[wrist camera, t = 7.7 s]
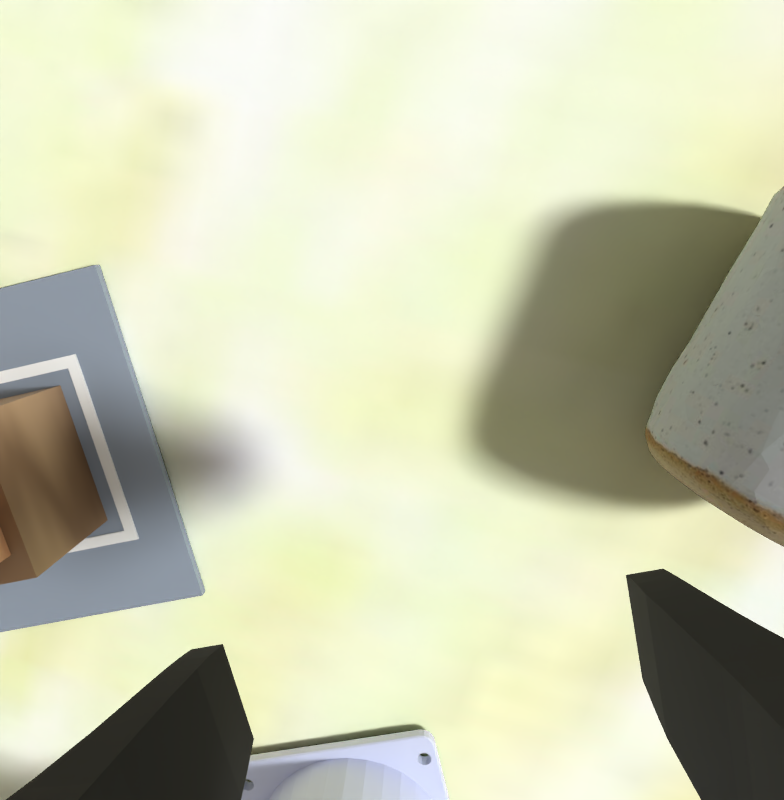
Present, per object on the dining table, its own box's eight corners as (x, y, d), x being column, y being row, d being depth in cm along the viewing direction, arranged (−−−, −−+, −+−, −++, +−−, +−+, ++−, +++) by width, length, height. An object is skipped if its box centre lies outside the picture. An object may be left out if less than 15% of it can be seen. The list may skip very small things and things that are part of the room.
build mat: (205, 591, 22) (201, 596, 22) (-39, 635, 23) (-47, 641, 23) (99, 264, 20) (94, 265, 19) (-169, 331, 21) (-179, 332, 20)
